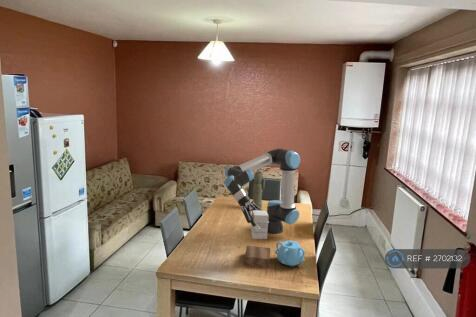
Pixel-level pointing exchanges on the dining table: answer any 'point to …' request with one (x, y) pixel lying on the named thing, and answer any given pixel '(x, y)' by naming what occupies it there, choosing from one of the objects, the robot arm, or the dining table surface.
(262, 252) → the walnut block
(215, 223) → the dining table surface
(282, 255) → the decorative pot
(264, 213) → the supplement box
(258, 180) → the thermos
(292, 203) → the robot arm
